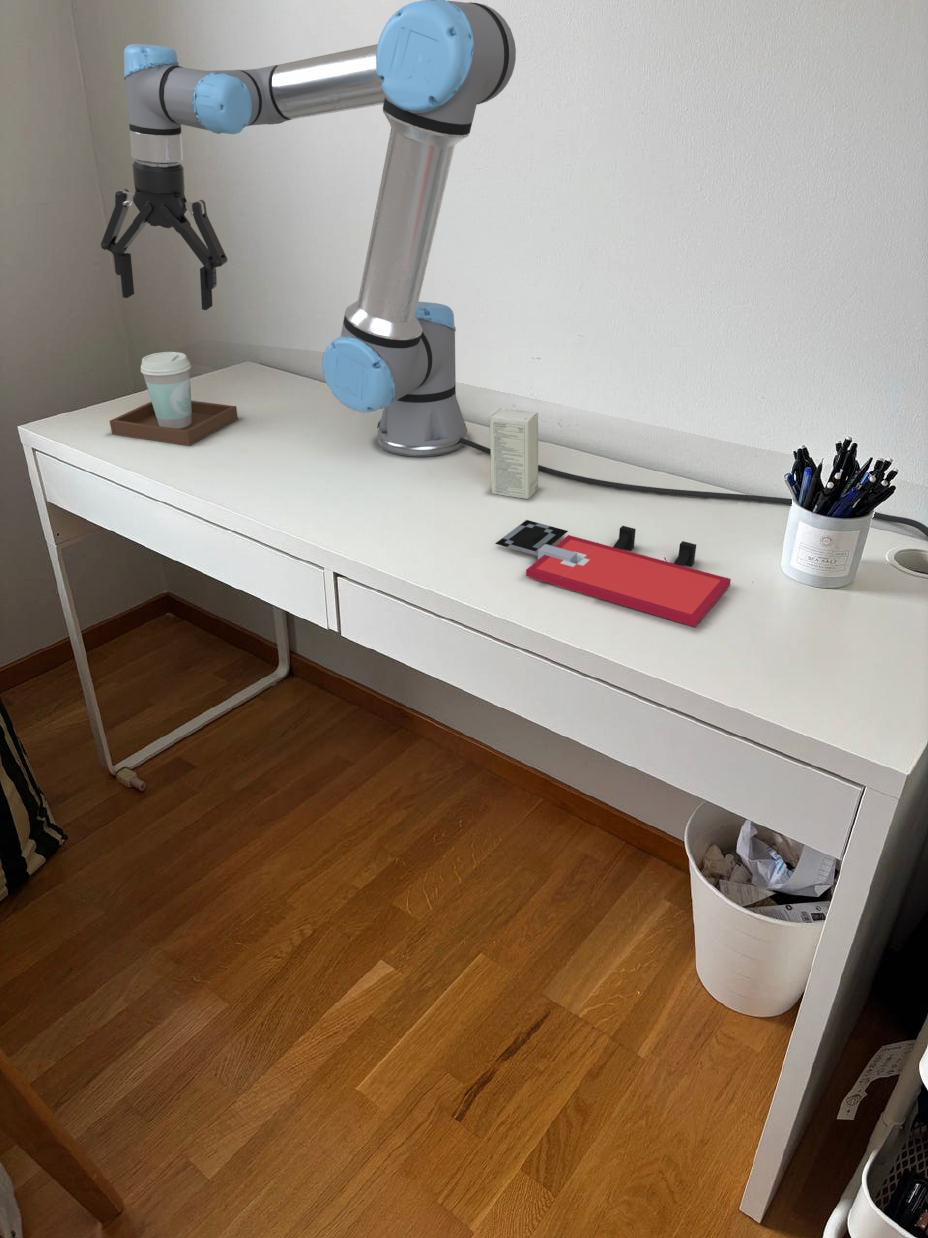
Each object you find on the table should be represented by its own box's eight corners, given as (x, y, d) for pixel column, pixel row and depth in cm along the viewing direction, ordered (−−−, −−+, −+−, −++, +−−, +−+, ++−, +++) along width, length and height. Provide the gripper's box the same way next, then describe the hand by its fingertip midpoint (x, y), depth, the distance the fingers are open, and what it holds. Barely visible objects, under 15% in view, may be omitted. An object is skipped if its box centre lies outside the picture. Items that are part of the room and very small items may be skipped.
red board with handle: (533, 520, 135) (475, 564, 124) (533, 502, 133) (475, 545, 123) (739, 576, 121) (694, 630, 110) (742, 556, 119) (697, 609, 109)
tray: (238, 419, 175) (236, 406, 174) (189, 445, 164) (187, 431, 162) (164, 409, 181) (161, 396, 179) (112, 434, 169) (109, 420, 168)
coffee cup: (174, 435, 167) (162, 366, 161) (140, 426, 171) (127, 359, 165) (210, 420, 173) (199, 354, 167) (176, 413, 177) (165, 348, 171)
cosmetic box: (538, 489, 145) (540, 411, 139) (527, 500, 142) (529, 421, 135) (500, 483, 147) (500, 406, 141) (489, 493, 144) (488, 415, 138)
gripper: (244, 169, 149) (248, 306, 160) (91, 147, 150) (106, 284, 162) (227, 176, 142) (232, 318, 154) (68, 154, 144) (85, 296, 156)
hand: (167, 301), depth 158 cm, fingers open, 13 cm apart
